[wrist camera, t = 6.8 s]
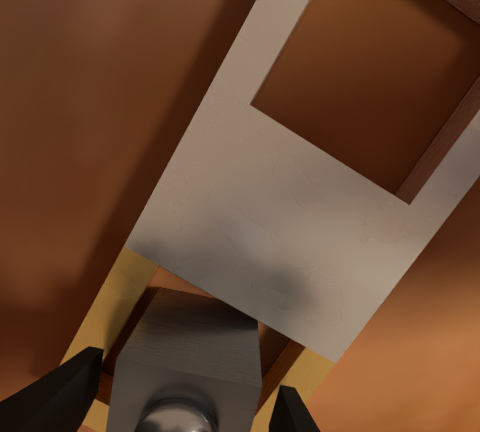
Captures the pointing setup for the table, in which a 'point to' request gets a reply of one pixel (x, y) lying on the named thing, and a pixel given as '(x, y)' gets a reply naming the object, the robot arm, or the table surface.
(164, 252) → the plate with square hole
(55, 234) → the table surface
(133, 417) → the grey knobbed block
